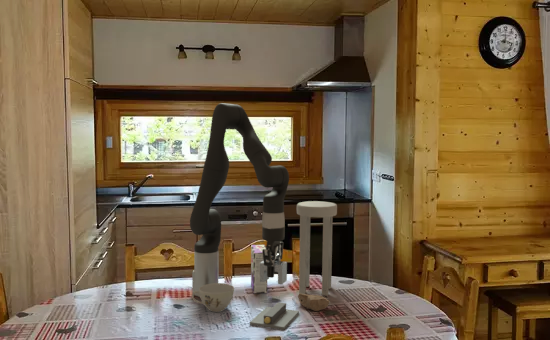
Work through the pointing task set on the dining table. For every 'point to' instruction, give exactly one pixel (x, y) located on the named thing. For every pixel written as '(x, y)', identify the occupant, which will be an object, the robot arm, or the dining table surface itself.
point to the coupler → (275, 317)
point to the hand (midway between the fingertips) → (273, 274)
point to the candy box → (257, 269)
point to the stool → (306, 212)
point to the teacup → (215, 296)
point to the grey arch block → (278, 267)
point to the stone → (313, 301)
